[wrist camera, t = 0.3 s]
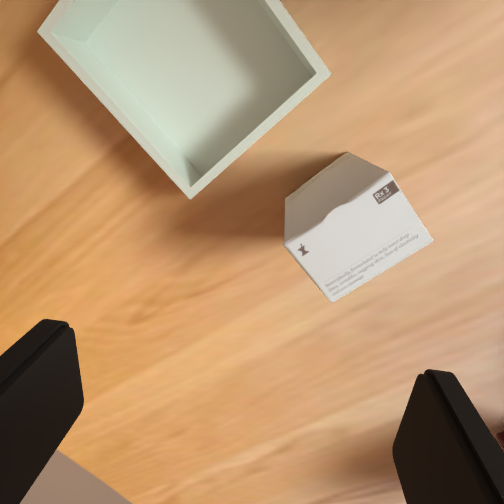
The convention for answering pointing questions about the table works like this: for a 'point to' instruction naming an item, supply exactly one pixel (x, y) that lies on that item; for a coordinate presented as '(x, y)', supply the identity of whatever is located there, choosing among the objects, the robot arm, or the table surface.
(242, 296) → the table surface
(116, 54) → the box
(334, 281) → the skincare box
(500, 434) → the red-brown bottle
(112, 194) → the table surface
